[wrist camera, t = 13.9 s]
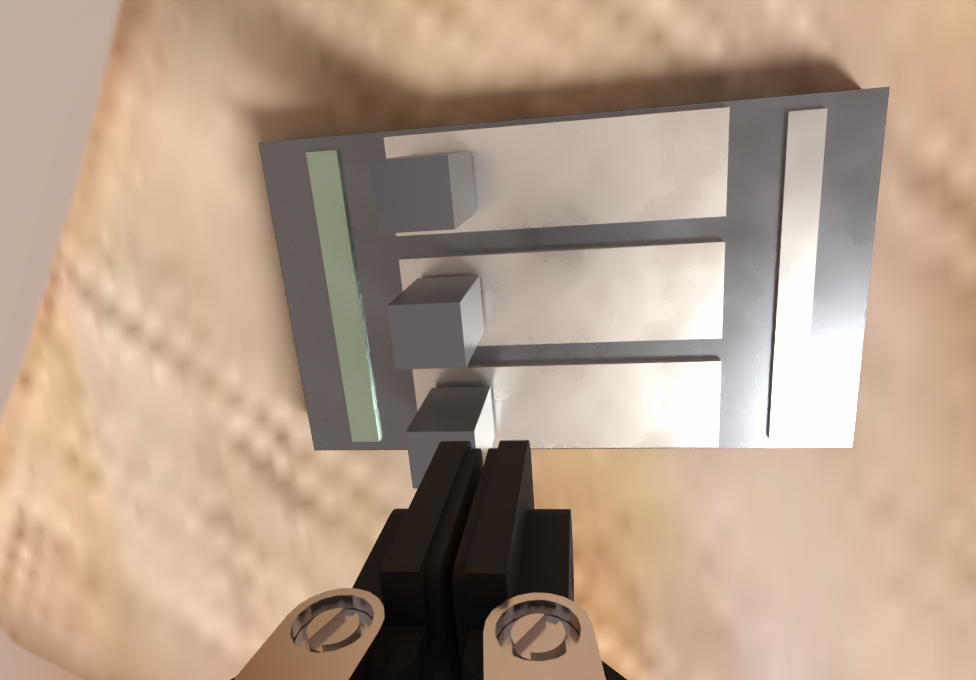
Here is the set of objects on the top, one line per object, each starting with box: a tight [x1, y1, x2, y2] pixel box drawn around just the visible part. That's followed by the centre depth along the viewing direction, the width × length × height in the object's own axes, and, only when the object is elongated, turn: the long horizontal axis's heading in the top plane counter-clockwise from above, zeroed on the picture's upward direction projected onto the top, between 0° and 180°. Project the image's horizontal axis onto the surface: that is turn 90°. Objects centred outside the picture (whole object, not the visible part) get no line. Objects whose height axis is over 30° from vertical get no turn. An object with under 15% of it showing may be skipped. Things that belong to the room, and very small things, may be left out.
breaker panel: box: [259, 87, 889, 450], centre depth 25 cm, size 13×22×2 cm, turn 94°
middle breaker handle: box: [387, 275, 484, 369], centre depth 22 cm, size 2×2×4 cm
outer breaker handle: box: [370, 151, 476, 234], centre depth 21 cm, size 2×2×4 cm
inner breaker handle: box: [406, 386, 495, 488], centre depth 24 cm, size 2×2×4 cm
